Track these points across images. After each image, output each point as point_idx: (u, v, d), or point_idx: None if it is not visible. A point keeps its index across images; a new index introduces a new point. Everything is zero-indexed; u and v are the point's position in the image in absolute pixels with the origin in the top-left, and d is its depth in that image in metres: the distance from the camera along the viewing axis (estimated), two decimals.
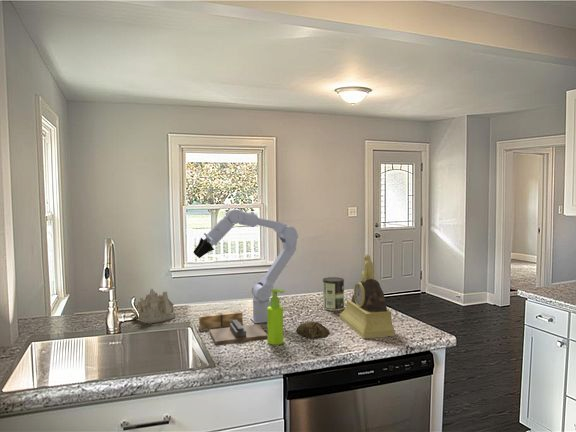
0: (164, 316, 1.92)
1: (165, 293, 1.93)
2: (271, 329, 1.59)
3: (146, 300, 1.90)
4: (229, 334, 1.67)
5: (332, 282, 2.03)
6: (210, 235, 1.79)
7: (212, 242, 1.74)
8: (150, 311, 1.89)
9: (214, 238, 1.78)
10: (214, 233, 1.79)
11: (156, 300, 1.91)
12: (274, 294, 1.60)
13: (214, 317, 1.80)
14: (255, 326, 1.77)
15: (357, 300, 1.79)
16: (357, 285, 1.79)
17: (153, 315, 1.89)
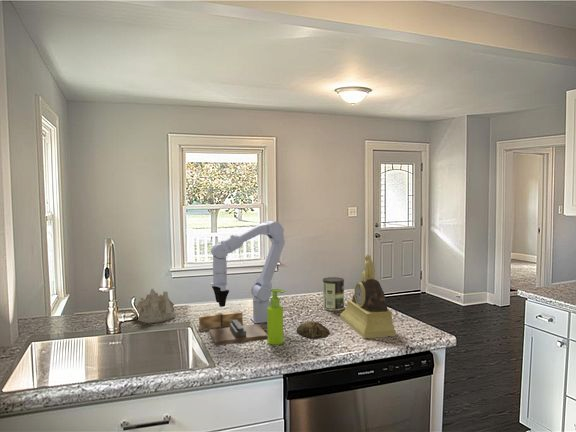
0: (164, 316, 1.92)
1: (165, 293, 1.94)
2: (271, 329, 1.59)
3: (146, 300, 1.91)
4: (229, 334, 1.67)
5: (332, 282, 2.03)
6: (216, 282, 1.79)
7: (222, 288, 1.75)
8: (150, 311, 1.89)
9: (221, 281, 1.79)
10: (218, 278, 1.79)
11: (156, 300, 1.91)
12: (274, 294, 1.60)
13: (214, 317, 1.80)
14: (255, 326, 1.77)
15: (358, 300, 1.79)
16: (358, 285, 1.79)
17: (153, 315, 1.90)
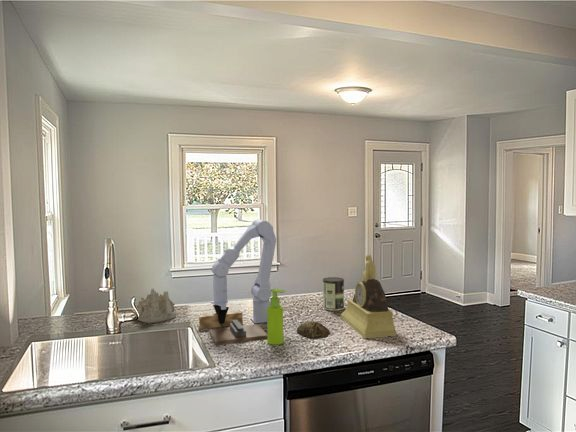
0: (165, 316, 1.92)
1: (166, 293, 1.94)
2: (271, 329, 1.59)
3: (147, 300, 1.91)
4: (229, 334, 1.67)
5: (332, 282, 2.03)
6: (217, 300, 1.80)
7: (223, 307, 1.76)
8: (151, 311, 1.89)
9: (222, 300, 1.80)
10: (218, 296, 1.79)
11: (157, 300, 1.91)
12: (274, 294, 1.60)
13: (214, 317, 1.80)
14: (255, 326, 1.77)
15: (358, 300, 1.79)
16: (358, 285, 1.79)
17: (154, 315, 1.90)
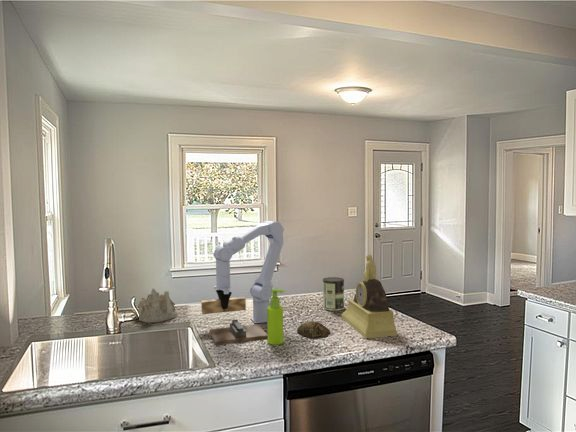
0: (166, 316, 1.92)
1: (166, 293, 1.94)
2: (271, 329, 1.59)
3: (148, 300, 1.91)
4: (229, 334, 1.67)
5: (332, 282, 2.03)
6: (219, 285, 1.77)
7: (226, 291, 1.73)
8: (152, 311, 1.90)
9: (224, 284, 1.77)
10: (221, 281, 1.76)
11: (158, 300, 1.92)
12: (274, 294, 1.60)
13: (217, 302, 1.77)
14: (255, 326, 1.77)
15: (359, 300, 1.79)
16: (359, 285, 1.79)
17: (155, 315, 1.90)
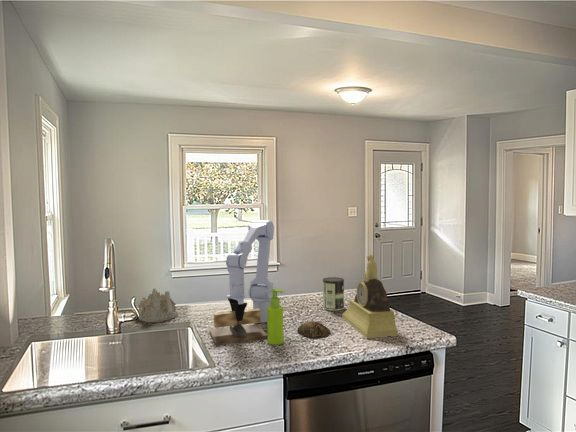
0: (166, 315, 1.93)
1: (167, 292, 1.95)
2: (271, 329, 1.59)
3: (148, 299, 1.91)
4: (229, 334, 1.67)
5: (332, 282, 2.03)
6: (233, 294, 1.67)
7: (240, 301, 1.62)
8: (152, 310, 1.90)
9: (238, 294, 1.67)
10: (235, 290, 1.66)
11: (158, 299, 1.92)
12: (274, 294, 1.60)
13: (230, 315, 1.67)
14: (255, 326, 1.77)
15: (360, 300, 1.79)
16: (360, 285, 1.79)
17: (155, 314, 1.90)
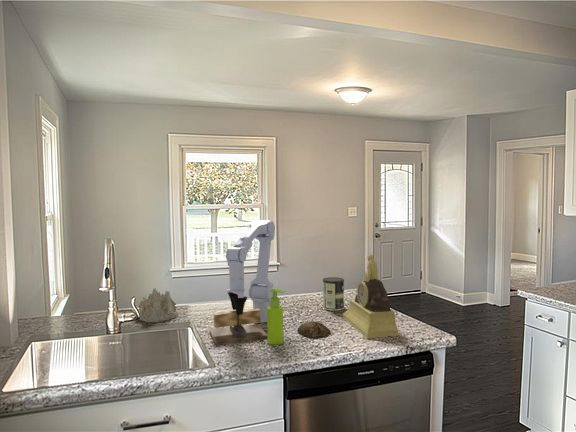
0: (167, 315, 1.93)
1: (167, 292, 1.95)
2: (271, 329, 1.59)
3: (149, 299, 1.92)
4: (229, 334, 1.67)
5: (332, 282, 2.03)
6: (233, 288, 1.66)
7: (240, 295, 1.62)
8: (153, 310, 1.90)
9: (238, 288, 1.66)
10: (234, 284, 1.66)
11: (159, 299, 1.92)
12: (274, 294, 1.60)
13: (230, 315, 1.67)
14: (255, 326, 1.77)
15: (360, 300, 1.79)
16: (360, 285, 1.79)
17: (156, 314, 1.91)
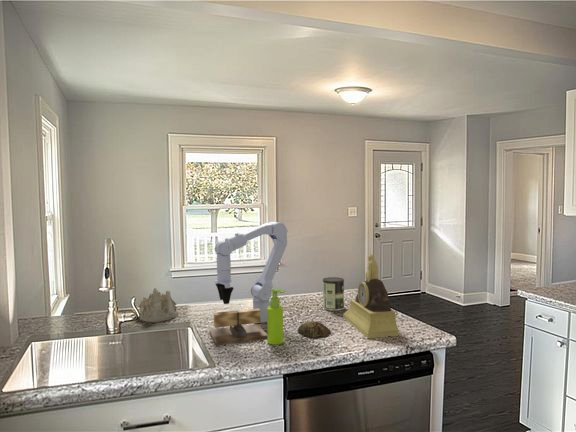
0: (167, 315, 1.93)
1: (168, 292, 1.95)
2: (271, 329, 1.59)
3: (149, 299, 1.92)
4: (229, 334, 1.67)
5: (332, 282, 2.03)
6: (220, 279, 1.79)
7: (227, 285, 1.74)
8: (153, 310, 1.90)
9: (225, 279, 1.79)
10: (222, 275, 1.78)
11: (159, 299, 1.92)
12: (274, 294, 1.60)
13: (230, 315, 1.67)
14: (255, 326, 1.77)
15: (361, 300, 1.79)
16: (361, 285, 1.79)
17: (156, 314, 1.91)
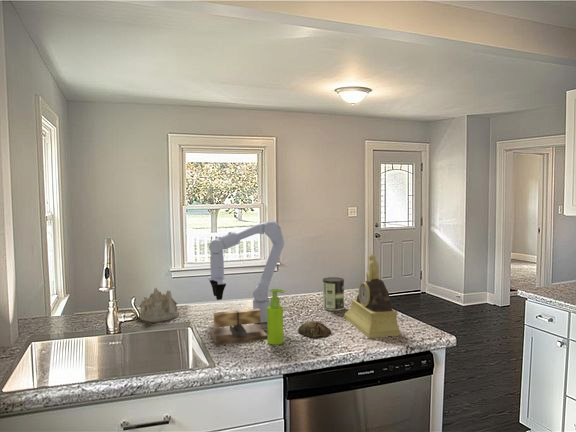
0: (168, 315, 1.94)
1: (169, 292, 1.95)
2: (271, 329, 1.59)
3: (150, 299, 1.92)
4: (229, 334, 1.67)
5: (332, 282, 2.03)
6: (213, 276, 1.86)
7: (219, 282, 1.82)
8: (154, 310, 1.91)
9: (218, 275, 1.86)
10: (215, 272, 1.86)
11: (160, 299, 1.93)
12: (274, 294, 1.60)
13: (230, 315, 1.67)
14: (255, 326, 1.77)
15: (362, 300, 1.79)
16: (362, 285, 1.79)
17: (157, 314, 1.91)
